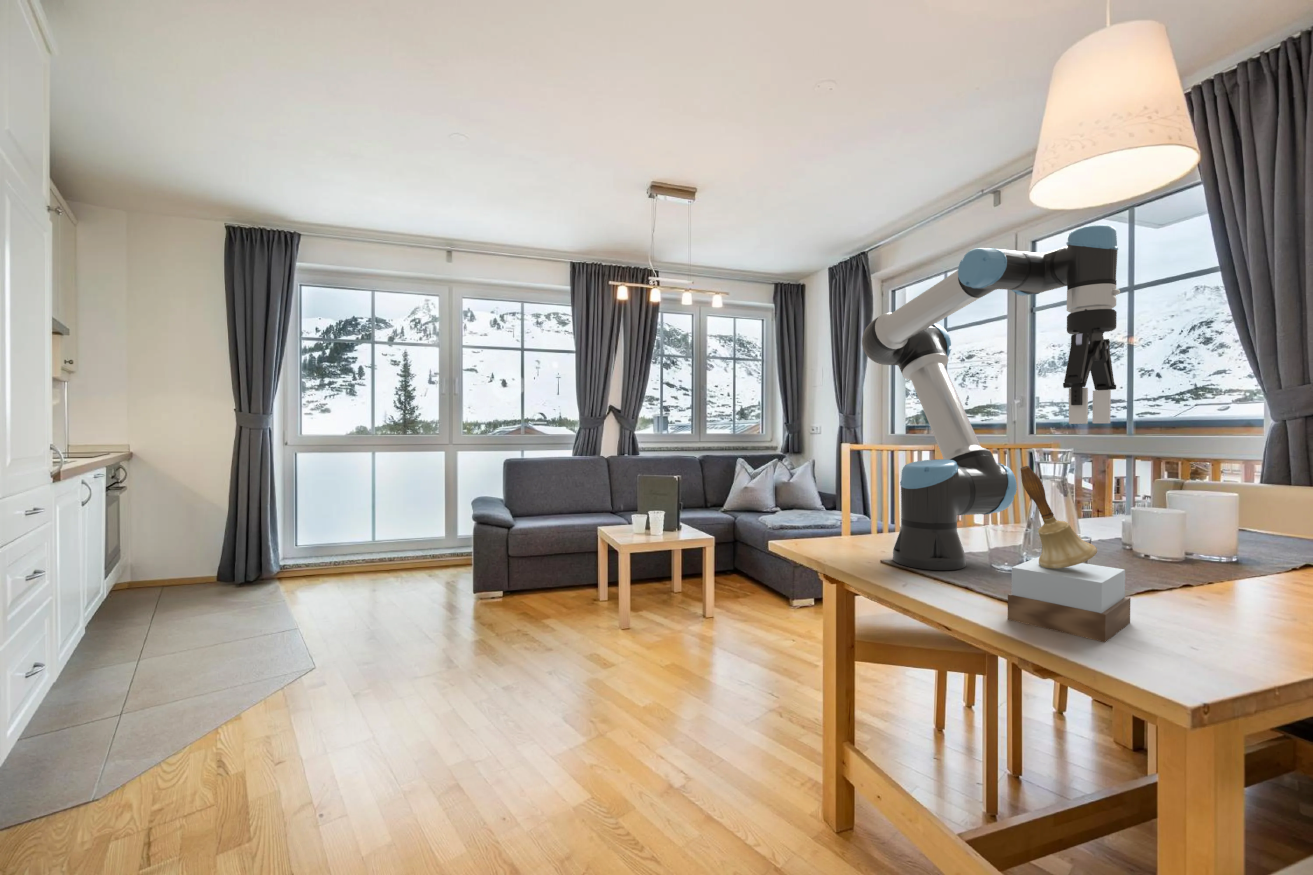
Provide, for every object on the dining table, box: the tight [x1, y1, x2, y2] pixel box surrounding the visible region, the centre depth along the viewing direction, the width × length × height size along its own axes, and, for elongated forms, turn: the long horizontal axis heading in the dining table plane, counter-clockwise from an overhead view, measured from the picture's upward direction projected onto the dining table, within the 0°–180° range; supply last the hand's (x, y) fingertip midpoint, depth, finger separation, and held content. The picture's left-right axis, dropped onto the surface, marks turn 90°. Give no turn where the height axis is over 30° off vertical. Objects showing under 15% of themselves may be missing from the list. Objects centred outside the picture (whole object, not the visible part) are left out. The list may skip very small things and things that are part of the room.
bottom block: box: [1007, 592, 1131, 643], centre depth 94 cm, size 13×13×4 cm
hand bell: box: [1019, 465, 1098, 568], centre depth 94 cm, size 8×8×16 cm
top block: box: [1011, 556, 1126, 613], centre depth 93 cm, size 12×12×4 cm
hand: (1090, 423), depth 110 cm, fingers open, 13 cm apart
